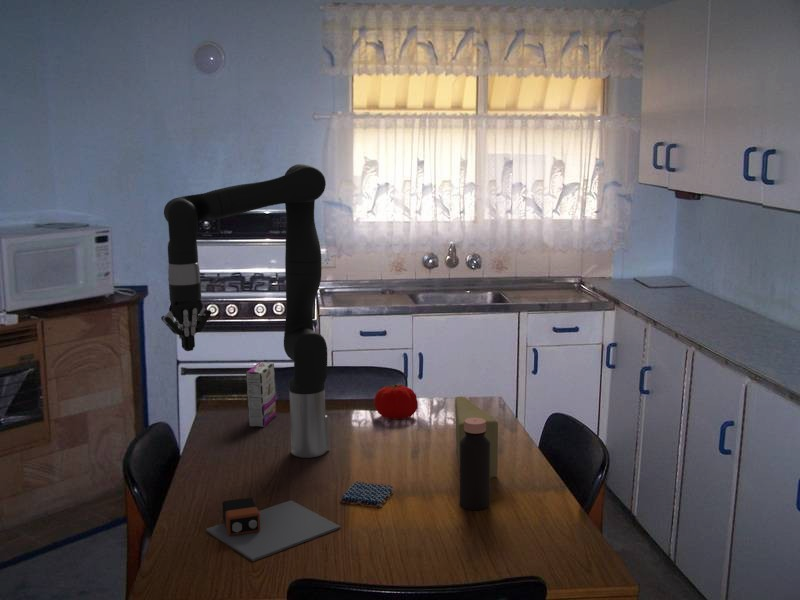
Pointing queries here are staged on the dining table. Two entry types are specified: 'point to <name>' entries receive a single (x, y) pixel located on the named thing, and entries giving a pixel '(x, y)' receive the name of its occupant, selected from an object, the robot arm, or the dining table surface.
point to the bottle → (474, 465)
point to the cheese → (470, 410)
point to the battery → (241, 516)
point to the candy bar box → (261, 394)
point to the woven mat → (367, 494)
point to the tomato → (396, 402)
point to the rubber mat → (276, 530)
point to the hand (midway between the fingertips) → (188, 350)
